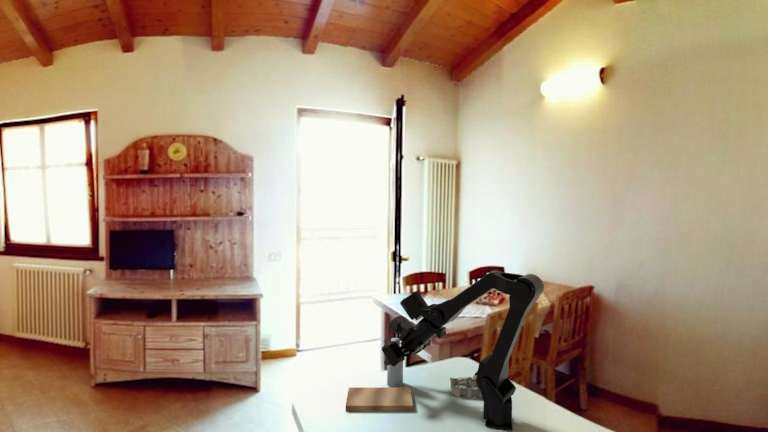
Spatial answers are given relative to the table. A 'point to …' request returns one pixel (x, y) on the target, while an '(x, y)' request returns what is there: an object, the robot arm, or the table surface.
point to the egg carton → (465, 386)
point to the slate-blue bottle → (395, 372)
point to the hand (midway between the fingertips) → (391, 360)
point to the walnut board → (379, 399)
